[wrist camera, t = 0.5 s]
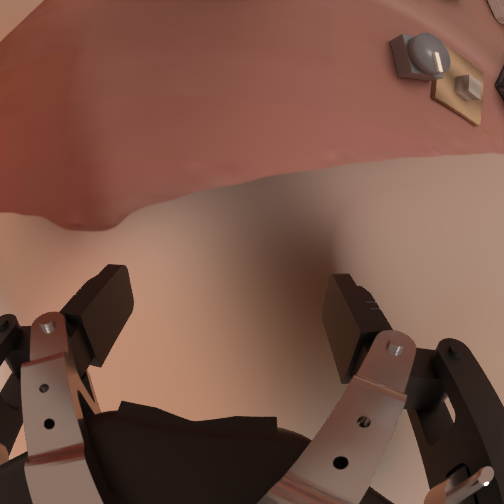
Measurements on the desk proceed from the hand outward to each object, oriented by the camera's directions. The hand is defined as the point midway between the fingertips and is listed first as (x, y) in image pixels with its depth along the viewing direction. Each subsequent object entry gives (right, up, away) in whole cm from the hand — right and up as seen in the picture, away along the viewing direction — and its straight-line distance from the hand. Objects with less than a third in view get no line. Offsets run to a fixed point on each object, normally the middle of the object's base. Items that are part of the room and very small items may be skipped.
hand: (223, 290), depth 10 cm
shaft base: (+34, +29, +17) cm, 48 cm away
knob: (+24, +30, +17) cm, 42 cm away
